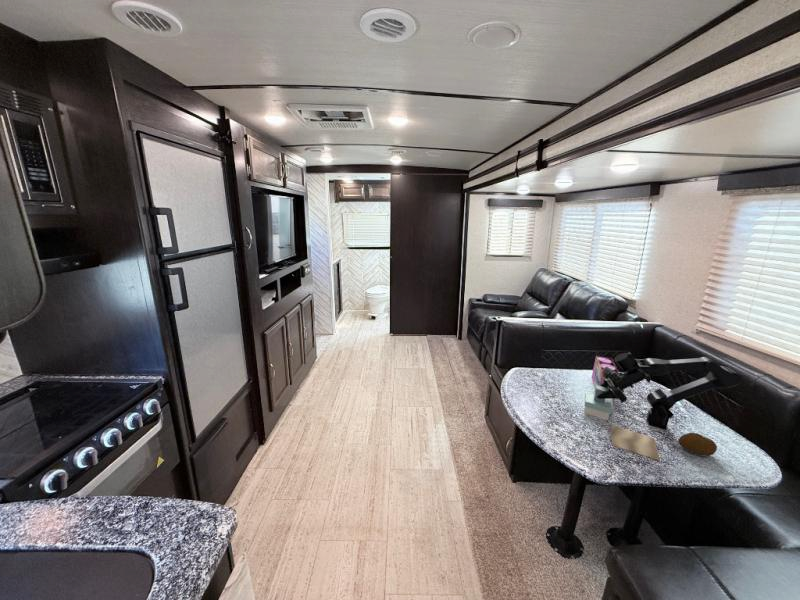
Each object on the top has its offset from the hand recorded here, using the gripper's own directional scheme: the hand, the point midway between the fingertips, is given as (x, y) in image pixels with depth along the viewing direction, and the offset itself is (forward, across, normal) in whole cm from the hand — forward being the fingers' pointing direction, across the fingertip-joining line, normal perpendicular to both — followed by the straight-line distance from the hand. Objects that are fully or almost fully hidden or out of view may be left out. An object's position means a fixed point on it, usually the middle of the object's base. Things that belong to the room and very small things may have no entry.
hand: (596, 395), depth 144 cm
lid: (+2, 0, +4) cm, 5 cm away
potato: (-16, +16, +29) cm, 36 cm away
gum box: (-1, -28, +13) cm, 31 cm away
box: (+5, 0, +7) cm, 9 cm away
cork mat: (-2, +18, +14) cm, 23 cm away
